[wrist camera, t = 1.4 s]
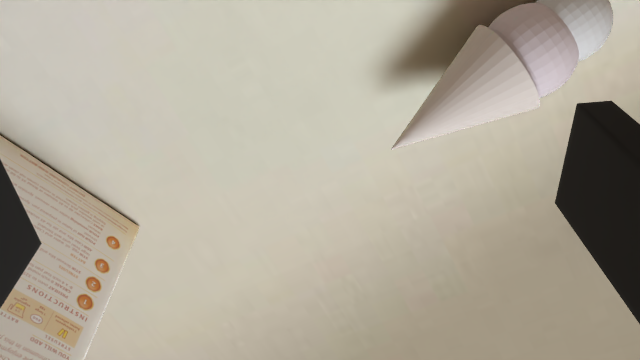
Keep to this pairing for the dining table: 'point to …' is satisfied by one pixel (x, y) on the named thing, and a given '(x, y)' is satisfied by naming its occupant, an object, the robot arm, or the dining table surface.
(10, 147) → the coffeecake box
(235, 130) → the dining table surface
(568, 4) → the ice cream cone
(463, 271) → the dining table surface
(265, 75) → the dining table surface
